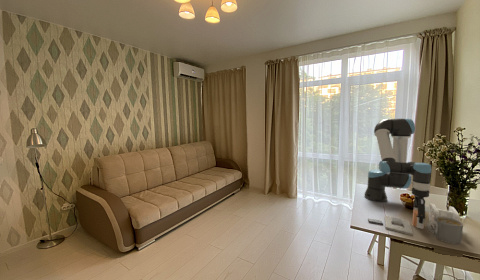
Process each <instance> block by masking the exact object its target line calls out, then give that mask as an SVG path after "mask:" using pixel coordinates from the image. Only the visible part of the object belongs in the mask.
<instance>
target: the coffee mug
mask: <svg viewBox="0 0 480 280" xmlns="http://www.w3.org/2000/svg"><path fill="white" fill-rule="evenodd" d="M432 224H434V225H435V228H431V227H432ZM426 228H427V230H428V231H430V232H431V233H433V236H434V237H435V238H437V239H438V240H440V241H442V242H445V243H447V244H451V245H452V244H453V245H461V244H462V238H463V237H462V236H463V228H464V223H462V222H461V220H459V221H458V220H455V219H452V218H449V217H443V216H437V217H436V218H435V221H430V220H428V222H427V223H426Z"/></svg>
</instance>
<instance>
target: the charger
mask: <svg viewBox="0 0 480 280" xmlns="http://www.w3.org/2000/svg"><path fill="white" fill-rule="evenodd" d="M416 216H418V211H417V210H414V209H413V210H412V219H411V220H412V221H411V222H412V226H413V227H416V228H417V217H416ZM421 216H422V215H421Z"/></svg>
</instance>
